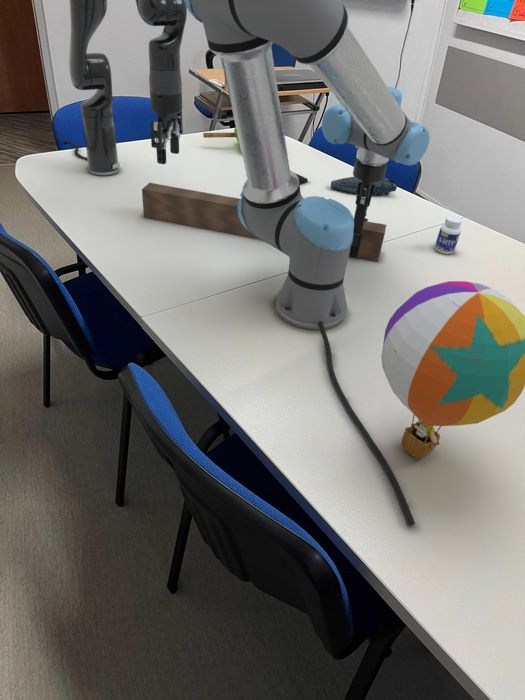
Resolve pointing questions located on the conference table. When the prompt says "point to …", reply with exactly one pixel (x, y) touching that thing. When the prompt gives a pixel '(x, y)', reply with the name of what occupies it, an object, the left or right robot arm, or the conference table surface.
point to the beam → (227, 215)
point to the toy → (453, 358)
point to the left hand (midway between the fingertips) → (168, 158)
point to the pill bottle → (448, 235)
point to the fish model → (352, 182)
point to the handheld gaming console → (301, 179)
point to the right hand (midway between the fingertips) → (353, 250)
